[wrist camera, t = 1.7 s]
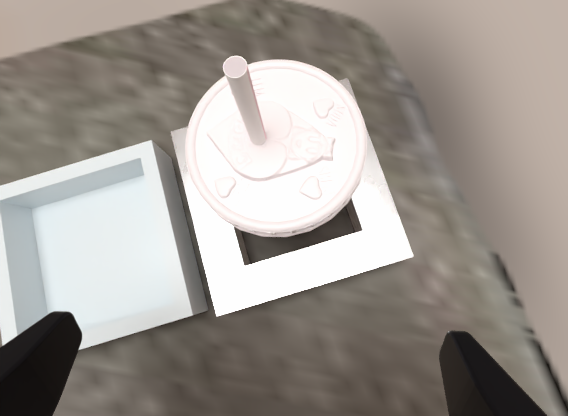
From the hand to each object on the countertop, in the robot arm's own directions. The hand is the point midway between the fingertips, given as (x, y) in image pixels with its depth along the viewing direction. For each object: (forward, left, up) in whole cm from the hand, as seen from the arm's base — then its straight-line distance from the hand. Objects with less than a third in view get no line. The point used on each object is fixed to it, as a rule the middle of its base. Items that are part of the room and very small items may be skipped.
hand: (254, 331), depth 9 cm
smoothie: (+6, -2, -12) cm, 14 cm away
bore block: (+6, -2, -12) cm, 14 cm away
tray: (+6, +9, -12) cm, 16 cm away
